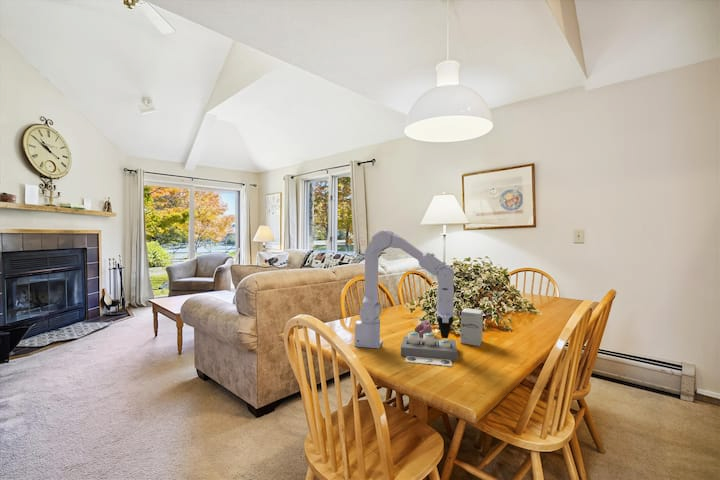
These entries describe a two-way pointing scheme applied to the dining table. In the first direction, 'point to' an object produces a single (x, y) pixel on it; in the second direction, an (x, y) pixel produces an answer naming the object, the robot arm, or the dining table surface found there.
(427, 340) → the button middle
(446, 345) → the button right
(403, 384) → the dining table surface
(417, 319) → the dining table surface
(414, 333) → the button left
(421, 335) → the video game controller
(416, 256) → the robot arm
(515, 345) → the dining table surface
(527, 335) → the dining table surface
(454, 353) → the button board
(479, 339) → the supplement box
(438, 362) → the card
